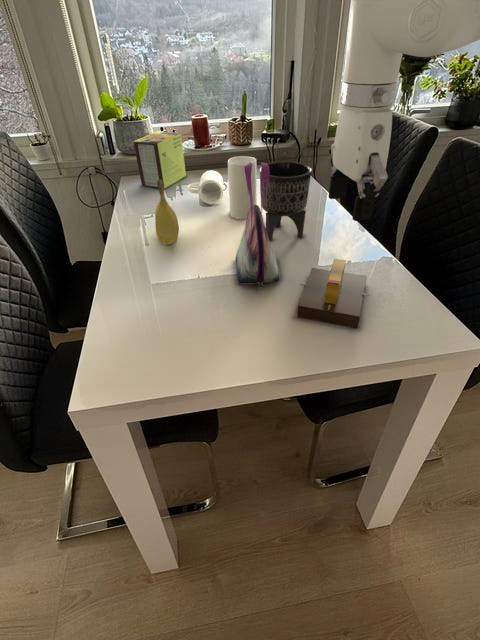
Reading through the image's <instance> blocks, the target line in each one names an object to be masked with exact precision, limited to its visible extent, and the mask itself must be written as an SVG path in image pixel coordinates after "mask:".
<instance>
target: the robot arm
mask: <svg viewBox="0 0 480 640" xmlns="http://www.w3.org/2000/svg"><path fill="white" fill-rule="evenodd" d="M477 41H480V0H352V4H351V10H350V19H349V25H348V34H347V42H346V51H345V58H344V67H343V74H342V82H341V91H340V99H339V106H338V107H339V108H340V110H339V115H338V119H337V125H336V131H335V134H334V135H335V137H334V143H333V144H331V146H330V152H331V158H330V165H331V168H330V171H329V174H330V181H329V189H328V199H330V200H336V199H344V198H345V197H346V195H347V191H348V183H349V179H351V180H352V181H354V182H356V186H357V192H358V195H357V196H355V201H354V207H353V212H352V220H353V221H354V222H359V221H367V220H371V219H372V217H373V213H374V208H375V203H376V198H377V197H378V196H379V195H380V192H382V190H383V188H384V186H385V183H386V182H387V180H388V173H387V170H386V169H387V163H388V158H389V153H390V144H391V137H392V127H393V109H392V107H393V104H394V99H395V93H396V87H397V83H398V79H399V73H400V68H401V63H402V59H403V55H407V56H413V57H418V58H429V57H434V56H438V55H442V54H445V53H448V52H452V51H454V50H458V49H460V48H463V47H465V46H468V45H470V44H473V43H474V42H475V43H476V42H477ZM365 183H369V185H367V186H365Z"/></svg>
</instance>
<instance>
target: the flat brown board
mask: <svg viewBox="0 0 480 640" xmlns="http://www.w3.org/2000/svg"><path fill="white" fill-rule="evenodd" d="M330 272H331V269H330V270H329V269H323V268H317V267H311V270H310V272H309V275H308V278H307V280H306V283H299V284H300V285H299V286H303V291H302V293H301V295H300V298H299V302H298V304H297V311H296V318H300V319H305V320H309V321H316V322H320V323H325V324H331V325H337V326H342V327H347V328H353V329H358V328H359V323H360V319H361V315H362V308H363V302H364V301H363V300H364V296H365V297H370V294H369V293H365V289H366V283H367V275H364V274H358V273H350V272H344V275H343V280H342V284H341V288H340V292H339V296H338V300H337V304H332V303H326V302H324V301H325V294H326V287H327V282H328V278H329V275H330Z"/></svg>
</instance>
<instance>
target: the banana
mask: <svg viewBox="0 0 480 640" xmlns="http://www.w3.org/2000/svg"><path fill="white" fill-rule="evenodd" d="M157 185H158V188H157V190H158V192H159V196H160V197H159V199H160V200H159V202H158V203H157V205H156V207H155V211H154V220H155V221H154V222H155V234H156V236H157V238H158V239H159V242H160V243H161V244H163V245H171V244H175V243H177V241H178V237H179V232H180V227H179V221H178V217H177V214H176V211H174V209H173V208H172V206H171V205H170V204H169V202H168V200H167V198H166V195H165V189H166V188H164V182H163V180H161V179H159V180H158V181H157Z"/></svg>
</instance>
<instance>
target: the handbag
mask: <svg viewBox="0 0 480 640" xmlns="http://www.w3.org/2000/svg"><path fill="white" fill-rule="evenodd" d="M268 164H269V163H266V162H262V161H260V165H261V167H262V168H261V167H260V168H261V179H260V178H259V184H260V185H259V186H260V187H259V189H260V190H259V193H260V206H259V205H258V204H257V205H253V202H252V187H251V170H252V163H249V164H247V165H245V167H244V168H245V175H246V182H247V187H248V191H249V195H250V205H251V207H250V209H249V213H247V218H246V219H245V223H244V228H243V231H242V234H241V238H240V242H239V245H238V248H237V250H236V254H235V268H236V269H235V270H236V277H237V279H236V280H237V283H238V284H241V285H252V284H258V289H259V291H261V289H263V283H274V282H275V283H276V282H278V281H280V278H281V274H280V269H279V265H278V261H277V257H276V255H275V252H274V249H273V246H272V243H271V240H269V238H268V235H267V227H266V223H265V221H264V217H263V208H262V187H263V181H264V178H265V179H266V198H267V191H268V186H269V178H270V170H269V166H268ZM260 288H261V289H260Z"/></svg>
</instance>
